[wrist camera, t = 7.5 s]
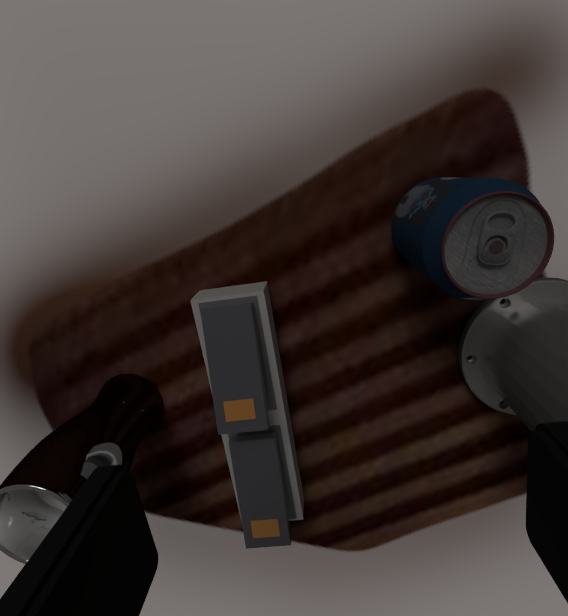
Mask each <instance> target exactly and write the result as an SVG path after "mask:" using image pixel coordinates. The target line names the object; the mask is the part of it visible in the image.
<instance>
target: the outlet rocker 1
mask: <svg viewBox="0 0 568 616" xmlns="http://www.w3.org/2000/svg"><path fill="white" fill-rule="evenodd" d="M200 313H201V320H202V326H203V333H204V340H205V347H206V354H207V361H208V368H209V375H210V381H211V388H212V395H213V402H214V409H215V416H216V423H217V430H218V435H221V434H231V433H241V432H251V431H261V430H268V428H269V425H270V422H269V415H268V407H267V400H266V393H265V386H264V378H263V371H262V364H261V357H260V349H259V342H258V335H257V328H256V321H255V313H254V306H253V302H251V303H244V304H236V305H229V306H221V307H213V308H206V309H201V310H200Z"/></svg>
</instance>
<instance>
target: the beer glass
mask: <svg viewBox="0 0 568 616" xmlns="http://www.w3.org/2000/svg"><path fill="white" fill-rule="evenodd" d="M161 411H162V399H161V396H160V393H159V391H158V390H157V388H156V387H155V386H154V385H153V384H152V383H151V382H150V381H148V380H147V379H145V378H143V377H141V376H138V375H135V374H120V375H116V376H114V377H112V378H110V379H109V380H108V381H107V382H106V383H105V384H104V385H103V387H102V388H101V390H100V392H99V394H98V395H97V397H96V399H95V400H94V402H93V403H92V404H91V405H90V406H89V407H87V408H86V409H85V410H83V411H82V412H80V413H79V414H77V415H76V416H74V417H73V418H71V419H70V420H68V421H67V422H65V423H64V424H62V425H61V426H59V427H58V428H57V429H55V430H54V431H53V432H51V433H50V434H49V435H47V436H46V437H45V438H44V439H43V440H41V441H40V442H39V443H38V444H37V445H36V446H35V447H34V448H33V449H32V450H31V451H30V452H29V453H28V454H27V455H26V456H25V457H24V458H23V459H22V460H21V461H20V463H19V464H18V465H17V466H16V467H15V468H14V469H13V471H12V472H11V473H10V474H9V475H8V476H7V478H6V479H5V480H4V481H3V483H2V484H1V485H0V550H1V551H2V552H3V553H5V554H6V555H8V556H9V557H11V558H13V559H15V560H17V561H19V562H21V563H24V564H26V563H27V562H28V560H29V559H30V557H31V556H32V555H33V553H34V552H35V551H36V549H37V548H38V546H39V545H40V544H41V542H42V541H43V540H44V538H45V537H46V535H47V534H48V533H49V531H50V530H51V529H52V527H53V526H54V524H55V523H56V522H57V520H58V519H59V518H60V516H61V515H62V513H63V512H64V511H65V509H66V508H67V506H68V505H69V504H70V502H71V501H72V500H73V498H74V497H75V495H76V494H77V493H78V491H79V490H80V489H81V487H82V486H83V484H84V483H85V482H86V480H87V479H88V478H89V476H90V475H91V473H92V472H93V471H94V470H95V469H96V468H97V467H100V466H110V465H123V466H124V467H125V469H126V470H130V467H131V464H132V462H133V459H134V456H135V453H136V449H137V447H138V444H139V441H140V439H141V437H142V436H143V434H144V433H145V432H146V431H147V430H148V429H149V428H150V427H151V426H152V425H153V424H154V423H155V422H156V421H157V420H158V418H159V417H160V414H161Z"/></svg>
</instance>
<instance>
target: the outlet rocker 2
mask: <svg viewBox="0 0 568 616" xmlns="http://www.w3.org/2000/svg"><path fill="white" fill-rule="evenodd" d="M229 448H230V454H231V460H232V466H233V472H234V478H235V484H236V490H237V496H238V502H239V508H240V514H241V520H242V526H243V532H244V538H245V544H246V548H258V547H271V546H285V545H291V536H292V535H291V529H290V522H289V515H288V509H287V502H286V495H285V489H284V482H283V475H282V469H281V462H280V456H279V449H278V442H277V436H276V432H269V433H259V434H249V435H239V436H231V438H230V441H229Z"/></svg>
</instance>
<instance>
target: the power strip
mask: <svg viewBox="0 0 568 616" xmlns="http://www.w3.org/2000/svg"><path fill="white" fill-rule="evenodd" d="M251 302H253V306H254V313H255V321H256V328H257V335H258V342H259V349H260V357H261V364H262V371H263V378H264V386H265V393H266V400H267V407H268V415H269V422H270V425H269V428H268V430H261V431H251V432H241V433H231V434H221V435H222V439H223V443H224V448H225V452H226V456H227V461H228V465H229V469H230V474H231V478H232V482H233V487H234V491H235V495H236V500H237V504H238V508H239V502H238V496H237V490H236V484H235V478H234V472H233V466H232V460H231V454H230V448H229V441H230V438H231V436H239V435H249V434H259V433H269V432H276V436H277V442H278V449H279V456H280V462H281V469H282V475H283V482H284V489H285V495H286V502H287V509H288V515H289V521H293V520H303V503H304V496H303V490H302V484H301V478H300V472H299V466H298V461H297V455H296V449H295V443H294V437H293V431H292V425H291V419H290V413H289V407H288V401H287V396H286V390H285V384H284V378H283V372H282V366H281V360H280V354H279V348H278V342H277V336H276V331H275V325H274V319H273V313H272V307H271V301H270V295H269V289H268V283H267V281H266V282H259V283H252V284H244V285H237V286H230V287H222V288H215V289H208V290H200V291H199V292H198V293H197V294H196V295H195V296H194V297H193V298H192V299H191V305H192V309H193V313H194V318H195V322H196V326H197V331H198V335H199V339H200V344H201V348H202V352H203V357H204V361H205V365H206V370H207V374H208V378H209V383H210V387H211V381H210V375H209V368H208V361H207V354H206V347H205V340H204V333H203V326H202V320H201V313H200V310H201V309H206V308H213V307H221V306H229V305H236V304H244V303H251ZM211 391H212V388H211ZM212 396H213V395H212ZM239 513H240V508H239ZM240 517H241V514H240ZM241 521H242V520H241Z"/></svg>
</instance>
